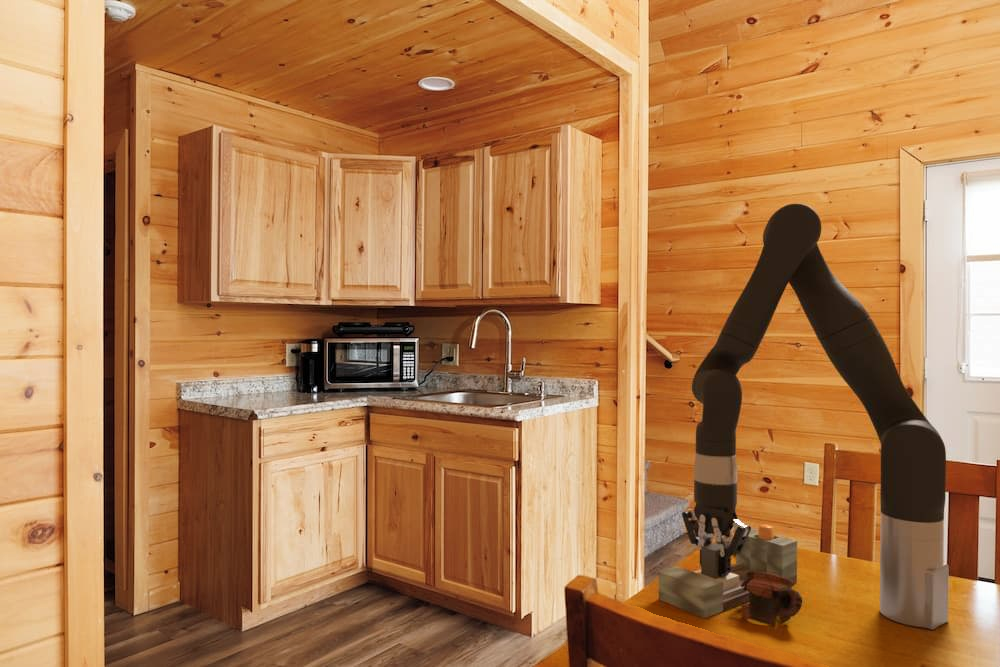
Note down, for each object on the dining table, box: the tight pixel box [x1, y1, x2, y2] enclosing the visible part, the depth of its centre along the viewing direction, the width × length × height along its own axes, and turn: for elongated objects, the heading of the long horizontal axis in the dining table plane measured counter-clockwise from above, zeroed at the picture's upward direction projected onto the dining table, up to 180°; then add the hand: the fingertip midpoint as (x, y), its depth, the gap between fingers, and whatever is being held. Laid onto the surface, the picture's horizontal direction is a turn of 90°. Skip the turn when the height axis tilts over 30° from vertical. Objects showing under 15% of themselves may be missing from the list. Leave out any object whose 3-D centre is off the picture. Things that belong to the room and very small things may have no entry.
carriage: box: [694, 542, 739, 592], centre depth 125 cm, size 6×6×7 cm
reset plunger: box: [758, 524, 775, 541], centre depth 134 cm, size 3×3×6 cm
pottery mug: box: [740, 572, 803, 627], centre depth 116 cm, size 12×10×8 cm
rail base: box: [658, 528, 798, 619], centre depth 128 cm, size 10×28×8 cm, turn 126°
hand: (714, 572), depth 125 cm, fingers closed on carriage, 3 cm apart
